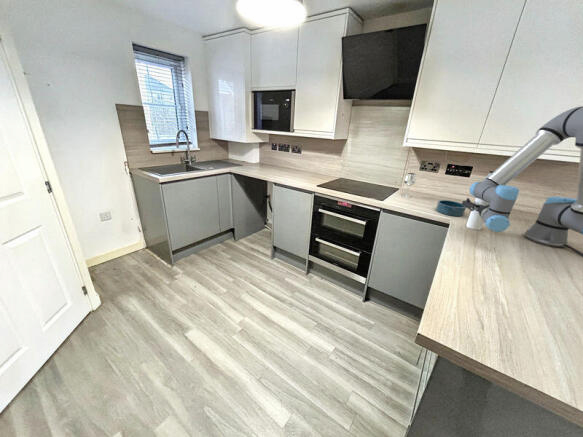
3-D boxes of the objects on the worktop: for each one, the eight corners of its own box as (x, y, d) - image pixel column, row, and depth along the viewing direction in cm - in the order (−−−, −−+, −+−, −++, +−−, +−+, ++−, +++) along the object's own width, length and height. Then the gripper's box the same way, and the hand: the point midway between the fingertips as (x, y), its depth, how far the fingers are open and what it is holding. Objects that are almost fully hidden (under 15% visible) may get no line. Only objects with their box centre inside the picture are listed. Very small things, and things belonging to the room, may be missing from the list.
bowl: (469, 217, 149) (472, 208, 146) (445, 216, 148) (448, 207, 146) (452, 208, 163) (455, 200, 161) (430, 208, 162) (433, 199, 160)
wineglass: (402, 194, 194) (407, 172, 187) (413, 196, 189) (418, 173, 182) (399, 195, 188) (404, 173, 181) (410, 198, 183) (415, 175, 176)
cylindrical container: (484, 230, 130) (502, 186, 120) (471, 229, 130) (488, 185, 120) (475, 225, 137) (491, 183, 127) (463, 224, 137) (478, 182, 127)
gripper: (457, 216, 120) (453, 204, 137) (519, 226, 109) (506, 213, 127) (462, 202, 117) (457, 192, 135) (526, 211, 107) (511, 199, 124)
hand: (481, 202), depth 131 cm, fingers open, 12 cm apart
